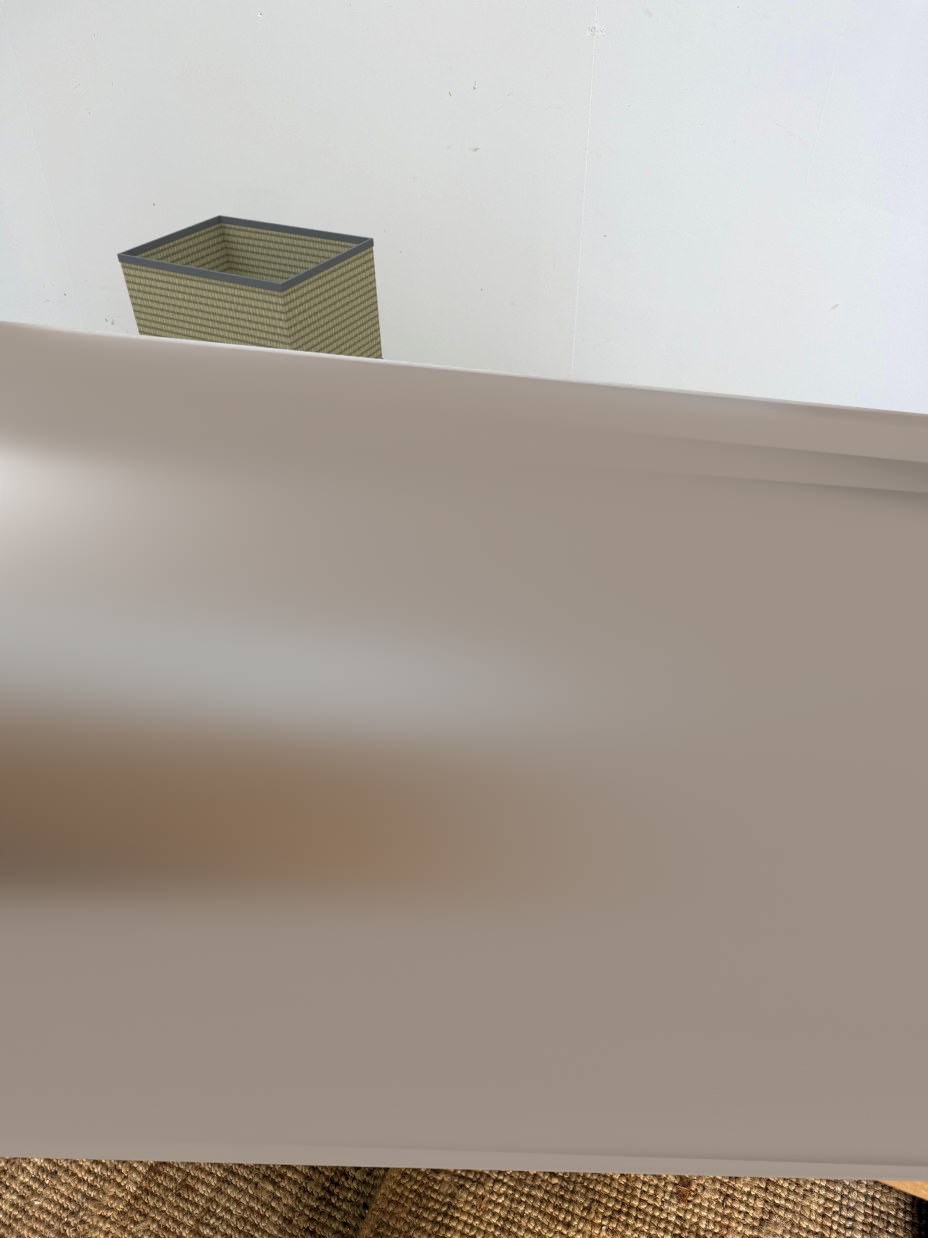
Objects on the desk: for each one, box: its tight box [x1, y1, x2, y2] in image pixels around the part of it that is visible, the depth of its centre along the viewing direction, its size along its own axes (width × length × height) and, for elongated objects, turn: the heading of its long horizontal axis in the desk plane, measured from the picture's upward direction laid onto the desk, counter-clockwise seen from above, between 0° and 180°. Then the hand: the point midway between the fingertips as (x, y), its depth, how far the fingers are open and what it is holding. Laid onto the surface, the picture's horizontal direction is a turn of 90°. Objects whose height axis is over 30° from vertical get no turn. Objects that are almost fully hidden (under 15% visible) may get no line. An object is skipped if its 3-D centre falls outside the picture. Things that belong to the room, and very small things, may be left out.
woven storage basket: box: [116, 214, 384, 359], centre depth 88 cm, size 18×14×33 cm
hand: (698, 723), depth 50 cm, fingers open, 13 cm apart
